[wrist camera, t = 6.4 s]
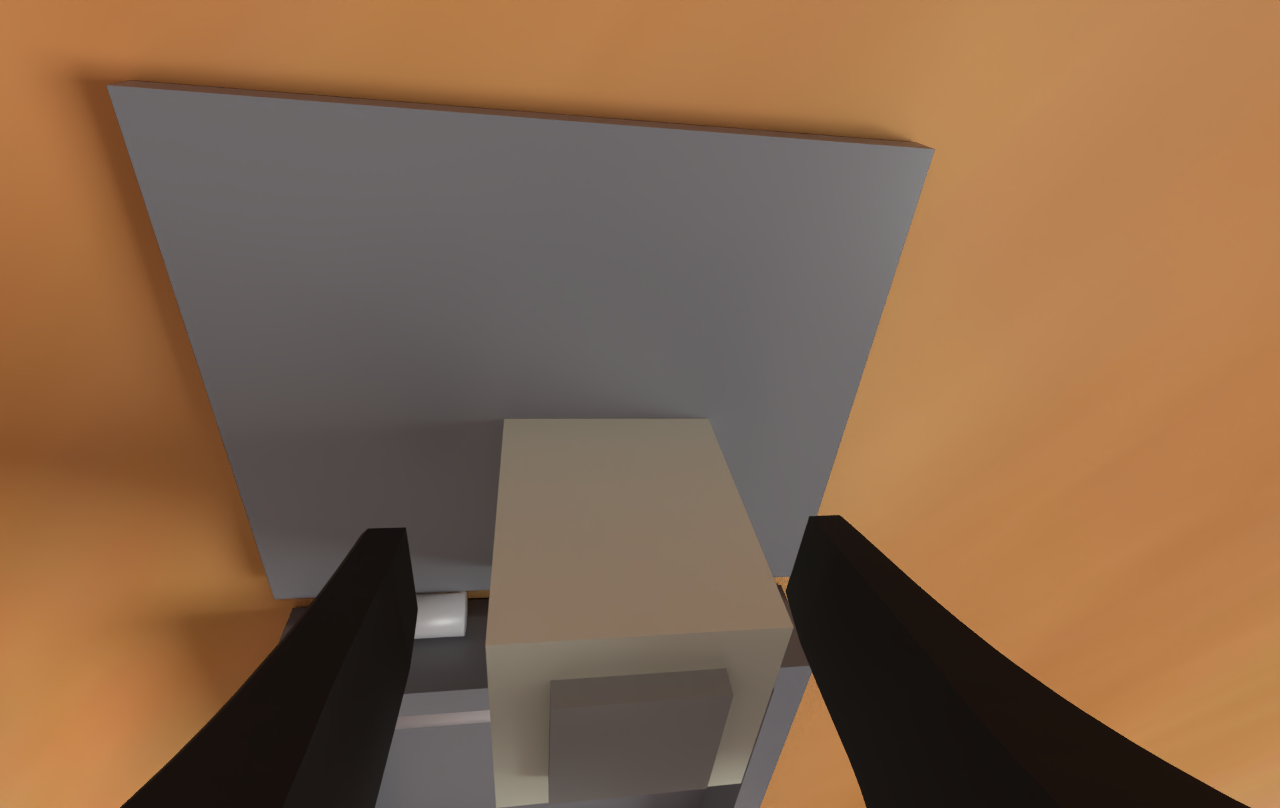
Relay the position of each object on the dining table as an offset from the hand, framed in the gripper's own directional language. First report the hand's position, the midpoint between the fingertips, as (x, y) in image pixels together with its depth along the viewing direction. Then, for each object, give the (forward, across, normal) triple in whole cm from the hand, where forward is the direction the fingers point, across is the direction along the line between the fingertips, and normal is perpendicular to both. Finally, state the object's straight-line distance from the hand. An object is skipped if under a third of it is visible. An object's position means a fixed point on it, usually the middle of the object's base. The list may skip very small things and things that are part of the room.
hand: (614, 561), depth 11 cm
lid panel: (+3, +1, -2) cm, 4 cm away
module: (+2, 0, 0) cm, 2 cm away
